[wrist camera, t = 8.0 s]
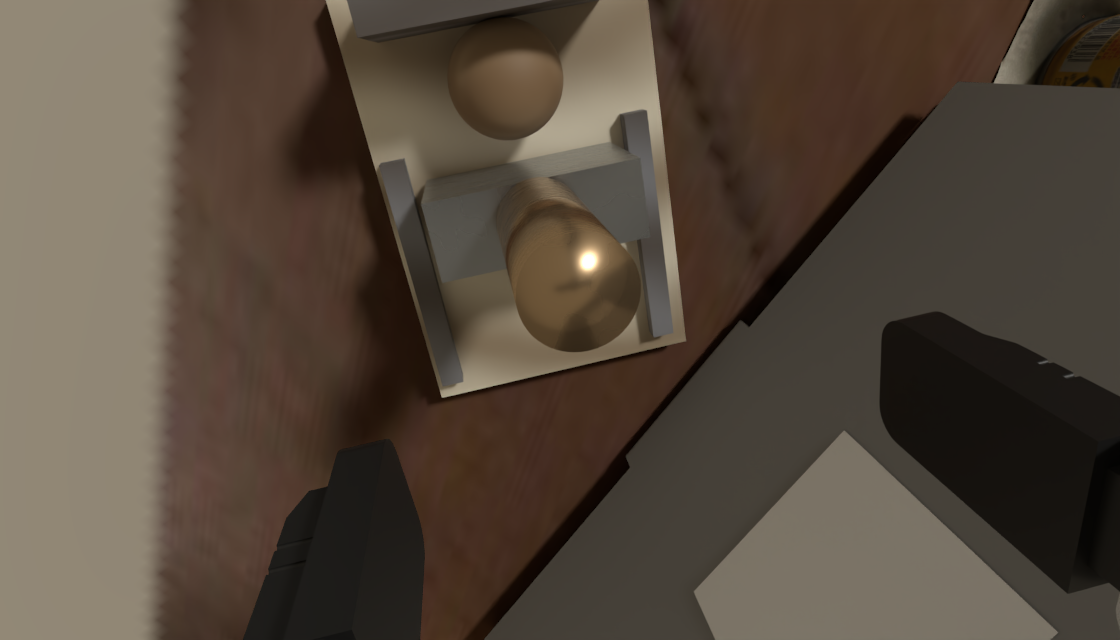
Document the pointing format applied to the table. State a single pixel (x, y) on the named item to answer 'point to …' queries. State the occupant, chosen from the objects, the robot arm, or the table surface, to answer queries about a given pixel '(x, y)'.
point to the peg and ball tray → (506, 151)
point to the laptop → (866, 410)
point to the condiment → (1066, 45)
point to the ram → (549, 238)
